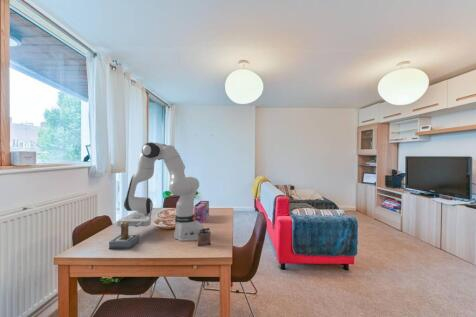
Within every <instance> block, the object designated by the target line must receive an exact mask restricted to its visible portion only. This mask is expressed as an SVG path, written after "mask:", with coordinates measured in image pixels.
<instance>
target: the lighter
mask: <svg viewBox="0 0 476 317" xmlns="http://www.w3.org/2000/svg"><path fill="white" fill-rule="evenodd" d="M210 229H211V228H209V227H207V228H206V227H204V228H202V229H200V232H199V233H198V240H197V247H206V246H207V247H208V246H211V245H212V244H211V243H212V242H211V234H212V232H211V231H210Z"/></svg>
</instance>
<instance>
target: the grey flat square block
mask: <svg viewBox="0 0 476 317" xmlns="http://www.w3.org/2000/svg"><path fill="white" fill-rule="evenodd" d="M139 242H140V234H128V239H127V240H121V234H118V235H117V236H115V237H114V238H112V239H111V240H109V242H108V249H109V250H131V249H132V248H133V247H134V246H135V245H137V243H139Z"/></svg>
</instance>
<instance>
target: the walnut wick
mask: <svg viewBox="0 0 476 317" xmlns="http://www.w3.org/2000/svg"><path fill="white" fill-rule="evenodd" d="M128 223H129V222H123V223H122V224H121V227H120V235H121V240H127V239H128V235H129V226H128Z"/></svg>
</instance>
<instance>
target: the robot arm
mask: <svg viewBox="0 0 476 317" xmlns="http://www.w3.org/2000/svg"><path fill="white" fill-rule="evenodd" d="M157 160H158V161H160V160H163V161H164V162H163V163H164V164H165V166H166V169H167V171H168V173H169V177H170V181H169V182H170V183H169V185H168V189H169V192H170V194H172V195H173V196H179V198H178V200H177V202H176V204H175V206H176V208H175V212H176V213H175V217H174V218H175V219H174V220H175V221H174V223H175V227H174V233H173V238H174V239H175V240H178V241H179V242H188V241H198V233H199V232H200V229H202V228H204V229H205V227H204V224H203V223H199V222H198V221H197V220H196V215H194V203H195V198H196V195H197V194H196V193H197V191H198V189H199V188H200V181H199V179H197V177H192V176H186V175H185V169H186V165H185V163H184V161H183V159H182V157H181V155H180V153H179V151H177V149H176V148H175V146H173V145H171V144H168V145H167V144H164V143H159V142H150V141H149V142H146V143H144V144H143V145H142V147H141V153H140V154H139V157H138V161H137V168H136V171H135V173H134V174H133V175H132V176H131V178H130V181H129V185H128V190H127V192H126V196H125V199H124V202H123V208H124V209H125V210H126V211H128V212H132V211H133V212H136V213H134V214H132V216H131V217H122V218H119V219H117V220H116V226H117V227H119V228H121V224H122V223H123V222H129V223H128V227H135V228H140V227H149V226H150V225H151V223H152V210H153V200H152V199H151V198H150V197H143V196H142V197H140V196H135V194H136V189H137V186H138V184H139V183H143V182H145V181H148V180H150V179H152V177H153V176H154V174H155V173H154V172H155V164H156V161H157Z"/></svg>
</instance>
